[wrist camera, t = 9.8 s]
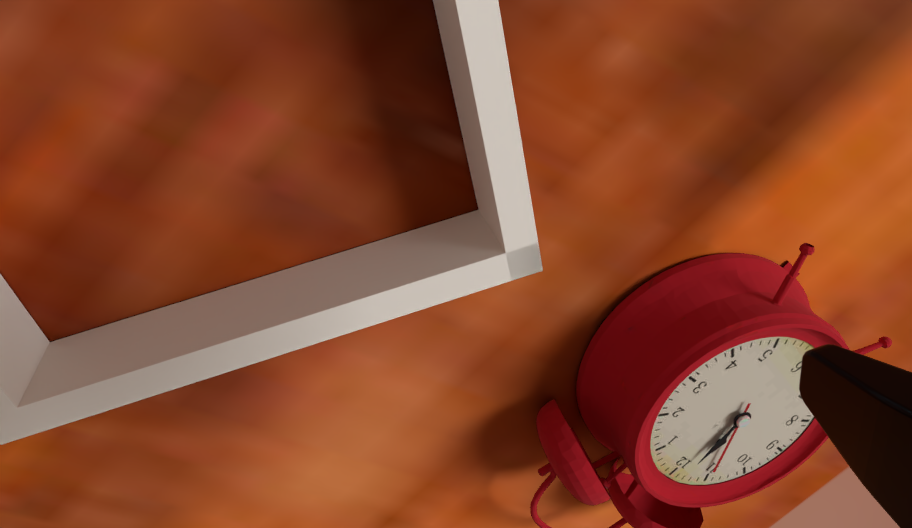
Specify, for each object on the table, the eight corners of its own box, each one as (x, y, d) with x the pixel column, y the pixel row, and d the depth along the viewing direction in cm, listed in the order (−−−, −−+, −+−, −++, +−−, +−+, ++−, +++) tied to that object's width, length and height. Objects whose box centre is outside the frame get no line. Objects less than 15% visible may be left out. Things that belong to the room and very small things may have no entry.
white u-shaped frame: (35, 376, 20) (1, 444, 18) (-314, -79, 13) (-451, -71, 11) (512, 226, 22) (542, 270, 19) (421, -253, 15) (451, -282, 12)
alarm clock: (928, 359, 25) (698, 657, 26) (795, 301, 31) (607, 548, 31) (812, 218, 20) (529, 593, 21) (677, 179, 26) (456, 476, 26)
